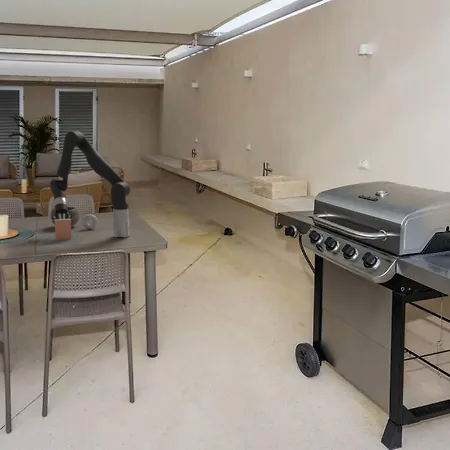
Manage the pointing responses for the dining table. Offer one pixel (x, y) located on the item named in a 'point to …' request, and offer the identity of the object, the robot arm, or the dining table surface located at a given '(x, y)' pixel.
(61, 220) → the tile
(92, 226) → the donut
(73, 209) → the bowl
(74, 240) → the mat
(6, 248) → the dining table surface
